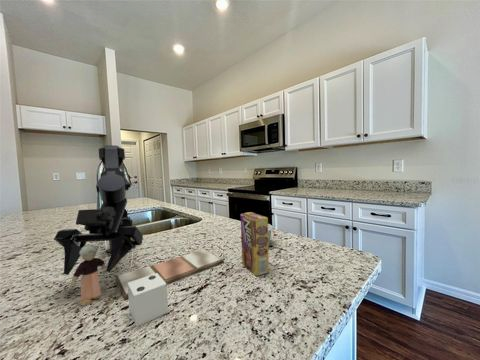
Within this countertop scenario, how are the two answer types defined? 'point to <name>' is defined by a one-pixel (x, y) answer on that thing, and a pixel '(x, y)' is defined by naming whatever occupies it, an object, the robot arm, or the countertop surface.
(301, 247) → the countertop surface
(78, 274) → the grandmother figurine
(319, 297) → the countertop surface
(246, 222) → the candy box
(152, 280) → the white die
